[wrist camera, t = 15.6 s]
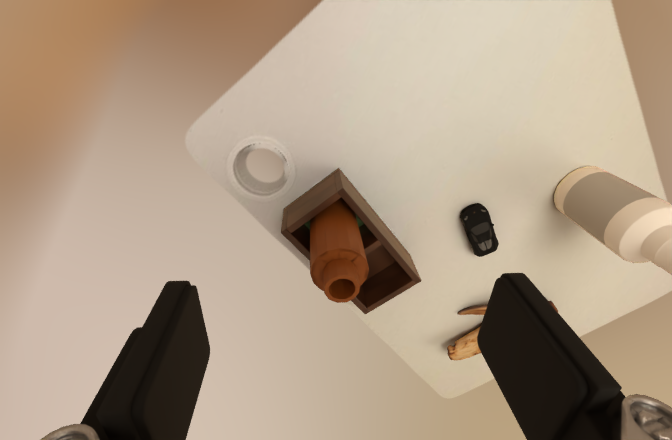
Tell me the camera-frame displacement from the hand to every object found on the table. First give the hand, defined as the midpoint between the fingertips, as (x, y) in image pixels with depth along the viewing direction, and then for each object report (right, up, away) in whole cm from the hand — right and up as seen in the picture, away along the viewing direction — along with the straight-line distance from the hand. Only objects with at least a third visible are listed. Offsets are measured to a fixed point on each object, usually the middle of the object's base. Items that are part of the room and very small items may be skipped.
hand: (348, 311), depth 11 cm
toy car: (+18, +2, +36) cm, 40 cm away
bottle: (-1, +3, +32) cm, 32 cm away
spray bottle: (+31, +7, +34) cm, 46 cm away
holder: (+1, +1, +35) cm, 35 cm away
